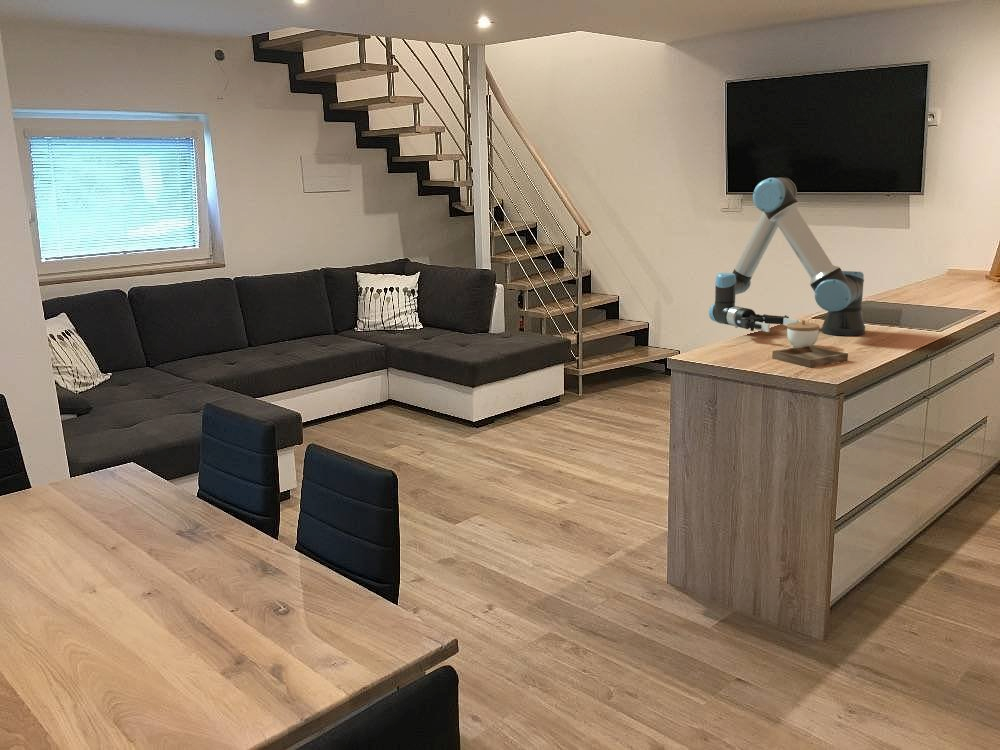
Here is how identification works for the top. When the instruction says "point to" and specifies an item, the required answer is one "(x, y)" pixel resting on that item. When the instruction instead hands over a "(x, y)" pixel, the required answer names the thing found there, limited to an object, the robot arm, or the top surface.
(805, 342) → the lidded jar
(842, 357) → the tray
